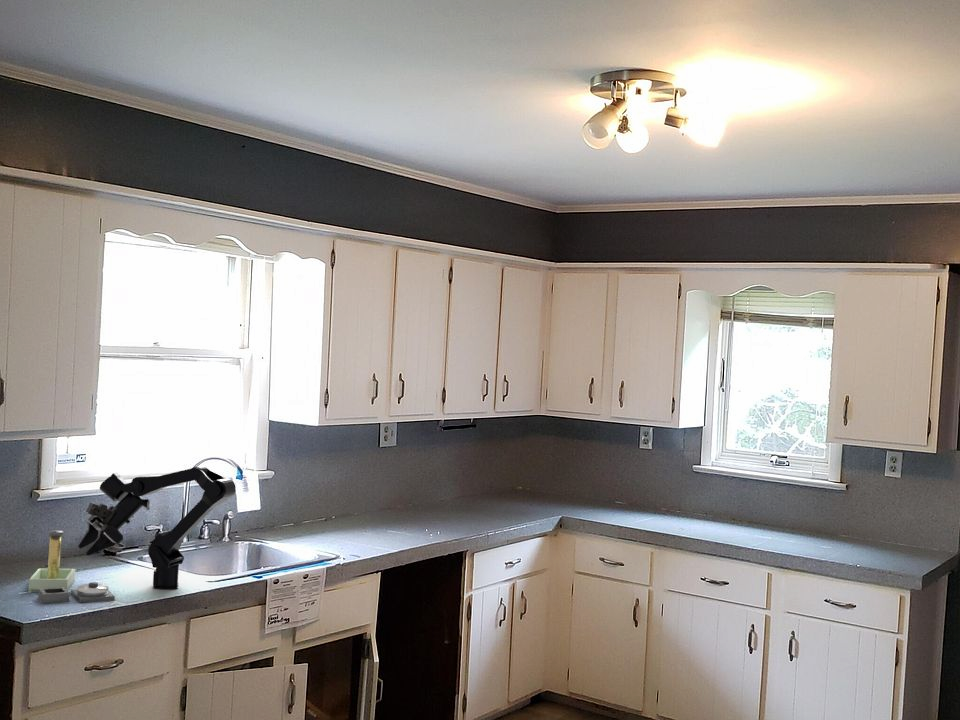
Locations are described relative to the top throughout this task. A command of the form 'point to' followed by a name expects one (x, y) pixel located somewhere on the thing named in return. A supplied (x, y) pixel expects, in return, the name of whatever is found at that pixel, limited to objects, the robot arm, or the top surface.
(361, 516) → the top surface
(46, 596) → the grey low boxy pieces
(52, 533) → the lock pin
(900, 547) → the top surface
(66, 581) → the tray
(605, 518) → the top surface
